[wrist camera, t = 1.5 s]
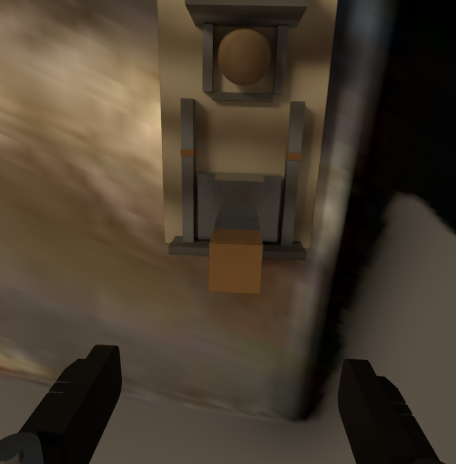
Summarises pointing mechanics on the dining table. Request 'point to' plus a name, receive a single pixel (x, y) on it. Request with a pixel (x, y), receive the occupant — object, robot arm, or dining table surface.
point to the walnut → (244, 55)
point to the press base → (243, 111)
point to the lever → (237, 226)
